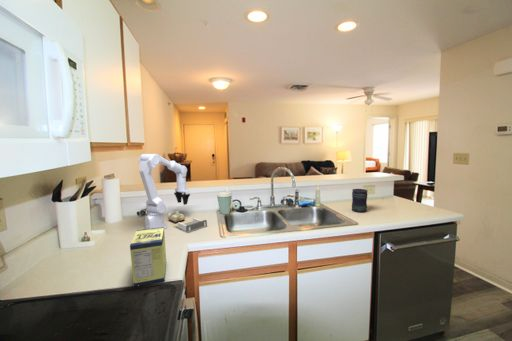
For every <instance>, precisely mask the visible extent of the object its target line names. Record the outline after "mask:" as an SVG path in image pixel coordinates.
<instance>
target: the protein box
mask: <svg viewBox="0 0 512 341" xmlns="http://www.w3.org/2000/svg"><path fill="white" fill-rule="evenodd" d="M165 238H166V237H165V228H164V227H160V228H152V229H145V228H144V229H138V230H136V232H135V234H134V237H133V238H132V240H131V242H130V245H129V249H130V250H129V251H130V261H131V271H132V272H131V273H132V274H131V275H132V281H133V283H132V284H133V287H134V286H137V287H139V286H138V285H142V286H146V285H145V284H147V285H152V284H151V283H153V284H157V283H163V282H165V280H166V271H167V250H166V239H165Z"/></svg>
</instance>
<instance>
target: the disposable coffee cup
mask: <svg viewBox="0 0 512 341" xmlns="http://www.w3.org/2000/svg"><path fill="white" fill-rule="evenodd" d="M216 197H217V202H218V208H219V214H221V215H228V214H230V212H231V205H232V197H233V194H232V192H231V191H229V190H228V191H220V192H217V194H216Z"/></svg>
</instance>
